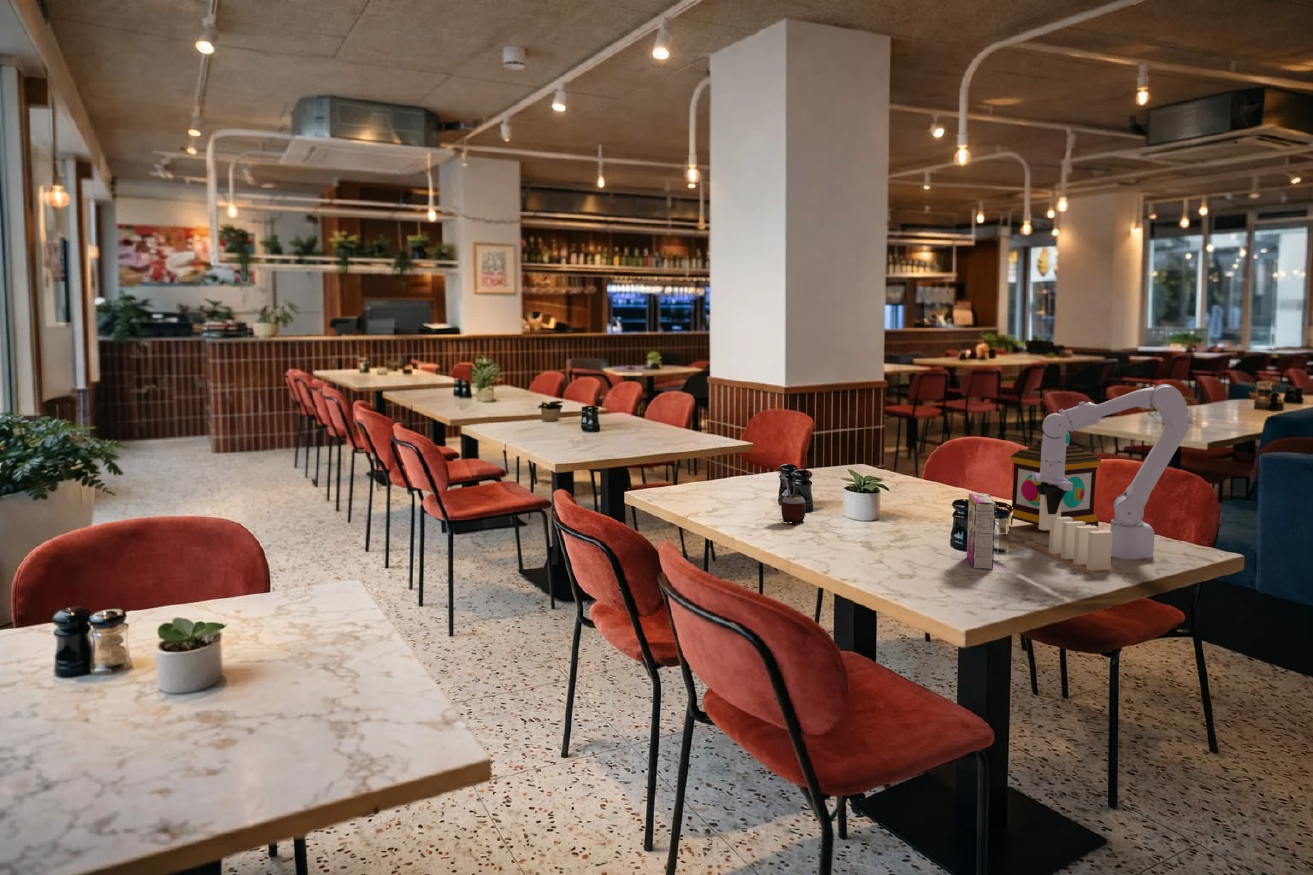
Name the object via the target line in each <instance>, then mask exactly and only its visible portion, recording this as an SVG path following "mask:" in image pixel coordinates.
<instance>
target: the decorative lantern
mask: <svg viewBox="0 0 1313 875" xmlns="http://www.w3.org/2000/svg"><path fill="white" fill-rule="evenodd" d="M1070 439H1071V438H1070V433H1069V431H1067V433H1066V436H1065V443H1066V458H1065V476H1064V478H1065V479H1066V480H1068V481H1069V482H1072V483H1073V490H1072V491H1067V492H1066V494H1065V495H1064V496H1063V498H1062V502H1061V517H1071V518H1073V522H1074V521H1082V522H1085V526H1096V527H1099V525H1100V524H1099V520H1098V518H1097V516H1096V513H1095V509H1094V508H1095V493H1096V480H1097V469H1098V468H1099V467H1100V465H1101V462H1102V460H1101V459H1100V458H1099V457H1098V456H1097V455H1094V453H1092V452H1090V451H1085V450H1084V449H1082V448H1080V447H1079V445H1076V443H1075V441H1074V442H1073V441H1070ZM1042 442H1043V440H1037V442H1036V443H1034V444H1032V446H1029V447H1027V448H1023V449H1022V448H1021V449H1019V450H1018V451H1015V452H1013V454H1011V455H1010V459H1011V462H1012V464H1013V476H1012V477H1013V478H1012V497H1011V506H1012V507H1013V515H1012V518H1011V526H1012V525H1013V522H1014V520H1016V521H1021V522H1025V523H1029V524H1032V525H1036V526H1039V512H1040V495H1039V493H1038V491H1037V489H1036V485H1040V484H1041V482H1038V481H1032V473H1040V466H1041V448H1042Z"/></svg>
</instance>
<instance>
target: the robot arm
mask: <svg viewBox="0 0 1313 875" xmlns="http://www.w3.org/2000/svg"><path fill="white" fill-rule="evenodd" d="M1151 405H1152V406H1153V407H1154V408H1155V410H1156V411H1157V412H1158V414H1159V416H1160V417H1161V421H1162V422H1163V425H1164V427H1163V429H1162V430H1161V432H1160V434H1159V436H1158V437H1157V439H1156V441H1155V442H1154V445H1152V448H1151V449H1150V451H1149V453H1148V455H1147V456H1146V458H1145V459H1144V461H1143V463H1142V464H1141V466H1140V468H1139V470H1138V471H1137V473H1136V475H1135V477H1134V478H1133V479H1132V481H1131V483H1129V485H1128V486H1127V487H1126V489H1125V490H1124V492H1123V493H1122V494H1120V495H1118V496H1117V497H1116V498H1115V499H1114V501H1113V506H1112V507H1113V510H1114V517H1113V518H1112V519H1110V530H1109V531H1110V532H1113V533H1112V548H1111V557H1114V558H1118V559H1122V560H1141V559H1153V558H1154V551H1155V550H1154V548H1155V530H1154V529H1153V527H1152V526H1151V524H1149V523H1146V522H1145V521H1143V518H1144V516H1145V513H1144V512H1145V511H1144V510H1145V506H1146V505H1147V503H1148V501H1149V498H1150V495H1151V493H1152V491H1153V490H1154V488H1155V486H1156V485H1157V483H1158V482H1159V480H1160V478H1161V476H1162V474H1163V473H1164V471H1165V470H1166V469H1167V467H1168V464H1169V463H1170V461H1171V460H1172V458H1173V456H1174V455H1175V453H1176V451H1177V449H1178V448H1179V447H1180V444H1181V443H1182V442H1183V440H1184V438H1185V437H1186V435H1187V433H1188V431H1189V429H1190V423H1189V416H1188V415H1189V414H1188V406H1187V401H1186V399H1185V398H1184V395H1183V394H1182V393H1181V390H1179V389H1177V388H1176V387H1175V386H1173V385H1171V384H1169V383H1168V384H1166V383H1164V384H1159V385H1157V386H1150V387H1146V388H1142V389H1137V390H1134V391H1131V392H1129V393H1126V394H1124V395H1121V396H1117V397H1115V398H1113V399H1110V400H1107V401H1104V402H1102V403H1098V404H1095V403H1093V402H1091V401H1088V402H1085V401H1079V402H1078V405H1076V406H1073V407H1070V408H1067V409H1063V408H1061V409H1059V410H1058V412H1059V413H1056V412H1054V413H1051V414H1048V415H1047V416H1046V417H1044V419H1043V423H1042V426H1041V427H1042V432H1043V434H1042V439H1041V440H1042V441H1043V442H1042V448H1041V466H1040V473H1032V481H1038V482H1041V484H1040V485H1036V489H1037V491H1038V493H1039V495H1041V494H1045V495H1046V499H1047V509H1048V514H1056V513H1057V511H1058V508H1059V505H1060V502H1061V500H1062V498H1063V496H1064V495H1065V494H1066V492H1067V491H1072V490H1073V483H1072V482H1069V481H1068V480H1066V479H1065V478H1064V476H1065V458H1066V443H1065V436H1066V433H1067V432H1071V433H1073V432H1076V431H1079V430H1082V429H1085V428H1088V427H1091V426H1095V425H1098V424H1099V423H1100V421H1101V419H1102V418H1103V417H1105V416H1108V415H1113V414H1116V413H1118V412H1119V413H1120V412H1122V411H1126V410H1129V409H1133V408H1137V407H1138V408H1143V409H1151Z"/></svg>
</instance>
